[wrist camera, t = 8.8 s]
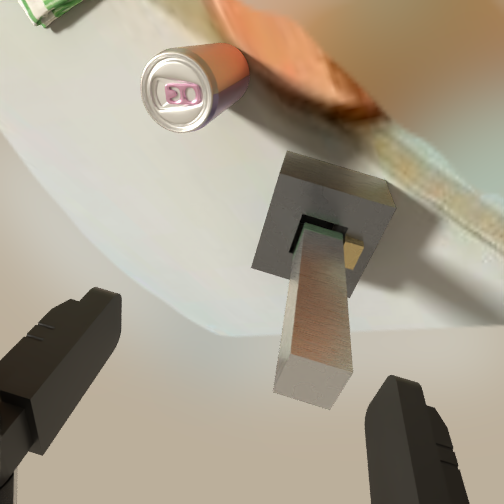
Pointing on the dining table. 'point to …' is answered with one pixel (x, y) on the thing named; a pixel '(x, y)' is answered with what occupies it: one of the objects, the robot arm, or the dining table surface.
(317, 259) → the column
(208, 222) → the dining table surface
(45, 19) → the dish towel
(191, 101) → the beverage can
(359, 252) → the base
